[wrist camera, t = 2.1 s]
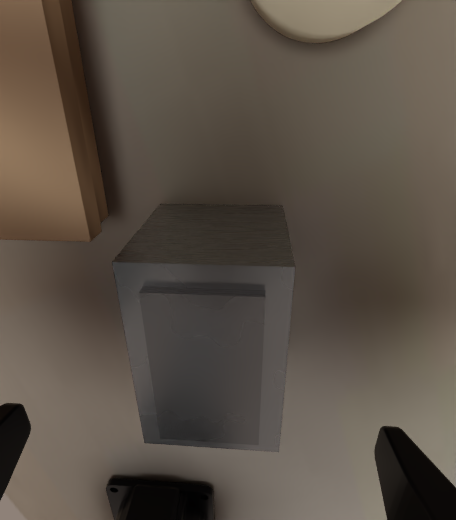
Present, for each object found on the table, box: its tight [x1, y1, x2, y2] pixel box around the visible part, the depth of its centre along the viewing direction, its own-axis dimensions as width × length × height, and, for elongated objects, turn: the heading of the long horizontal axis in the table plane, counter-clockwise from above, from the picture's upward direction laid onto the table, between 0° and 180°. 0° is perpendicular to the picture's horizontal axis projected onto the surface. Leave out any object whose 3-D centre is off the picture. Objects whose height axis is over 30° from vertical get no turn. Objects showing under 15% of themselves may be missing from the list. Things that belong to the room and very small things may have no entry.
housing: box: [112, 204, 295, 452], centre depth 12 cm, size 7×5×5 cm, turn 1°
